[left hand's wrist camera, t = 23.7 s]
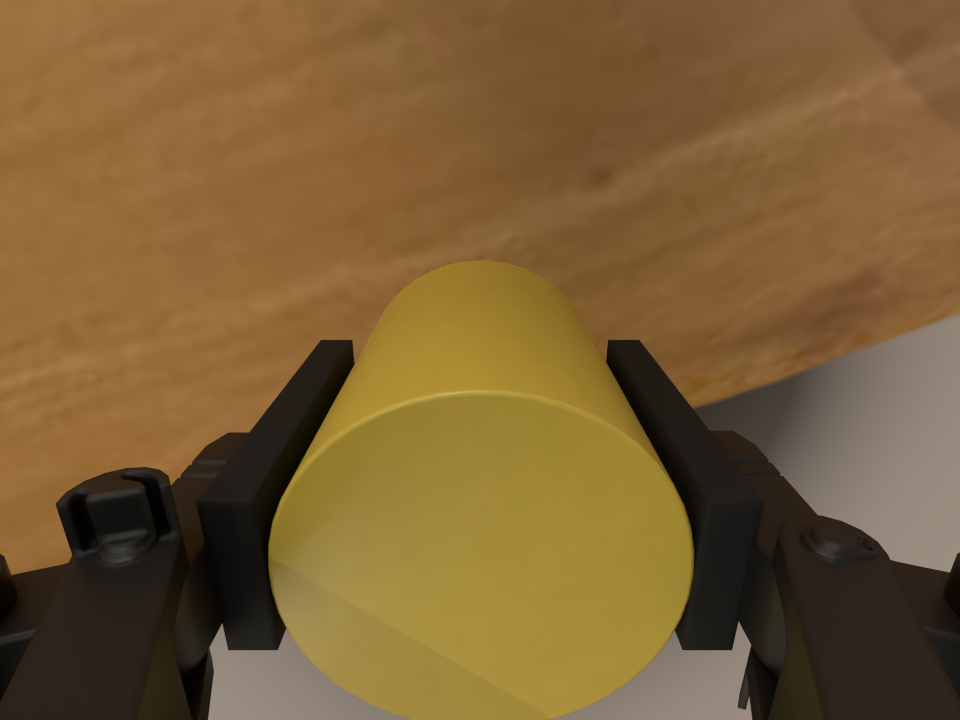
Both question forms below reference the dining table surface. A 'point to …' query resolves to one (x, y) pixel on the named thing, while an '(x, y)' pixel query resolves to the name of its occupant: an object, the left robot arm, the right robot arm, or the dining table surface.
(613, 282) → the dining table surface
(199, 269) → the dining table surface
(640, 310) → the dining table surface
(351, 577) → the can
